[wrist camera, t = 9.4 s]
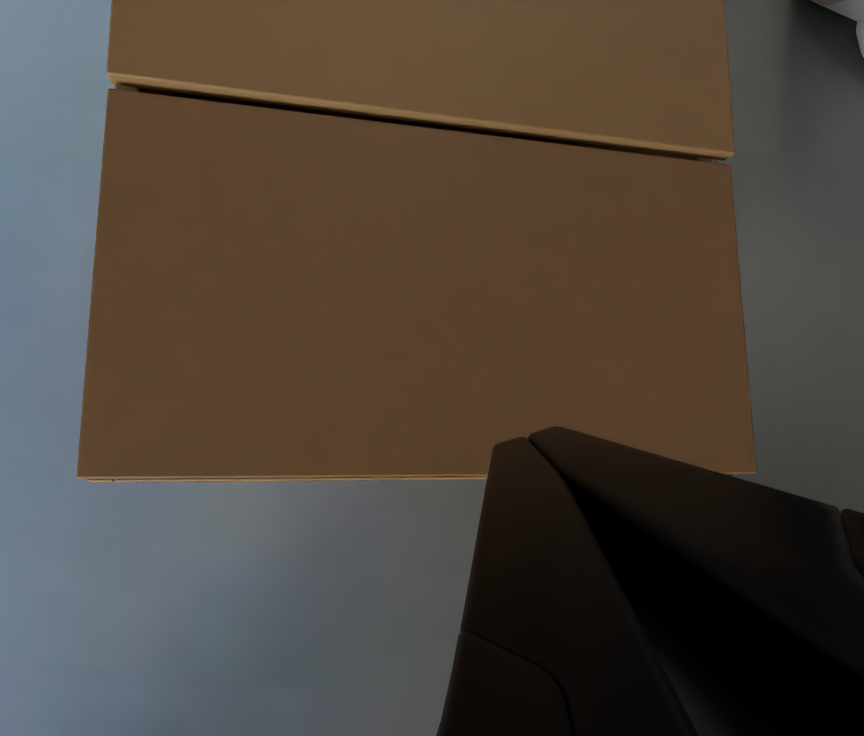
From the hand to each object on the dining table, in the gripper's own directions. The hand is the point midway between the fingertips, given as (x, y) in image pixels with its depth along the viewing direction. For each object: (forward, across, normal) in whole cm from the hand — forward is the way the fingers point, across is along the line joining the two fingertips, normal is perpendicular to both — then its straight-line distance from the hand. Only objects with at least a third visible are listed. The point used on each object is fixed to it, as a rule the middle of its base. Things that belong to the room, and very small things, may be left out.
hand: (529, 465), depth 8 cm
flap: (+5, 0, 0) cm, 5 cm away
